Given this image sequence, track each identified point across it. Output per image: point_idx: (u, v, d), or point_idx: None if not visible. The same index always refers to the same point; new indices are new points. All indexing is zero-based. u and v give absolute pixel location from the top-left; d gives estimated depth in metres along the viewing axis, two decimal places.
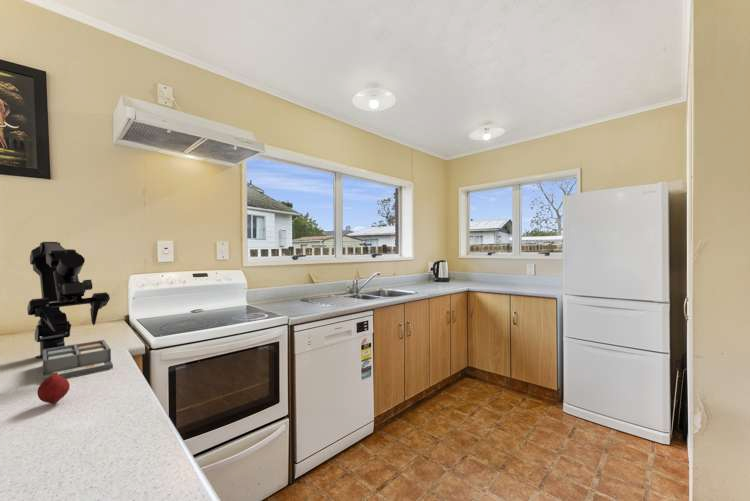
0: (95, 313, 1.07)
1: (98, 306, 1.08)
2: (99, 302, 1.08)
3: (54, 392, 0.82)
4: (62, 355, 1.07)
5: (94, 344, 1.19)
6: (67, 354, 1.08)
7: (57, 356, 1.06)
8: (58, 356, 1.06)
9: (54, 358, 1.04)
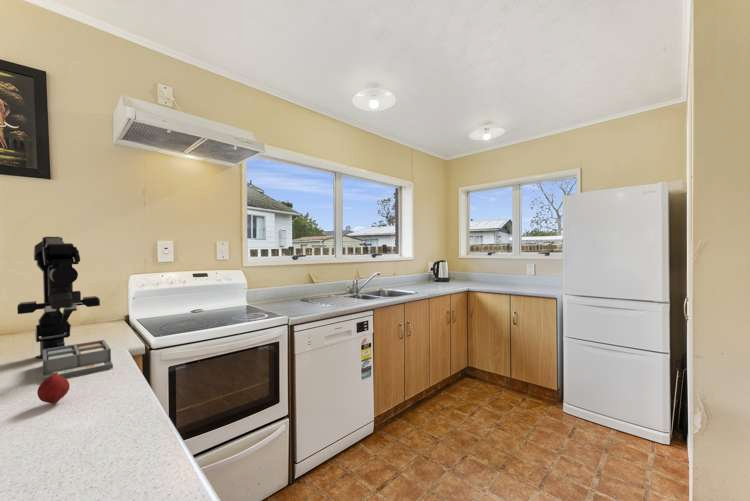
0: (65, 320, 1.05)
1: (69, 314, 1.05)
2: (70, 311, 1.05)
3: (54, 392, 0.82)
4: (62, 355, 1.07)
5: (94, 344, 1.19)
6: (67, 354, 1.08)
7: (57, 356, 1.06)
8: (58, 356, 1.06)
9: (54, 358, 1.04)
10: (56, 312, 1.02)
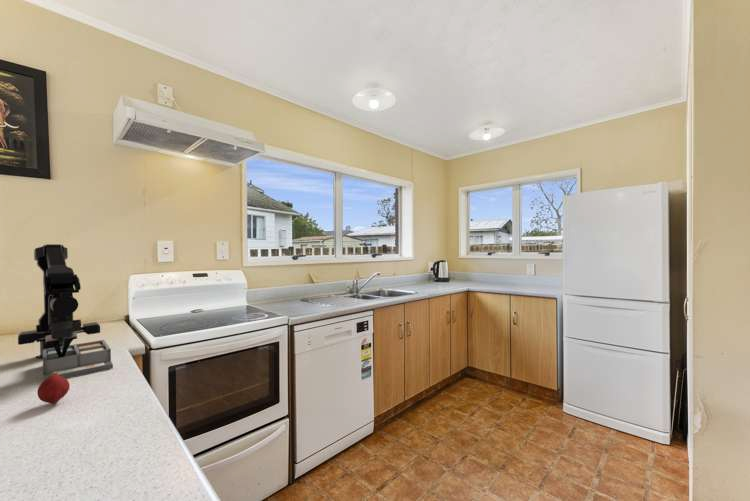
0: (65, 348, 1.05)
1: (69, 342, 1.06)
2: (70, 339, 1.05)
3: (54, 392, 0.82)
4: None
5: (94, 344, 1.19)
6: None
7: None
8: None
9: None
10: (56, 341, 1.03)
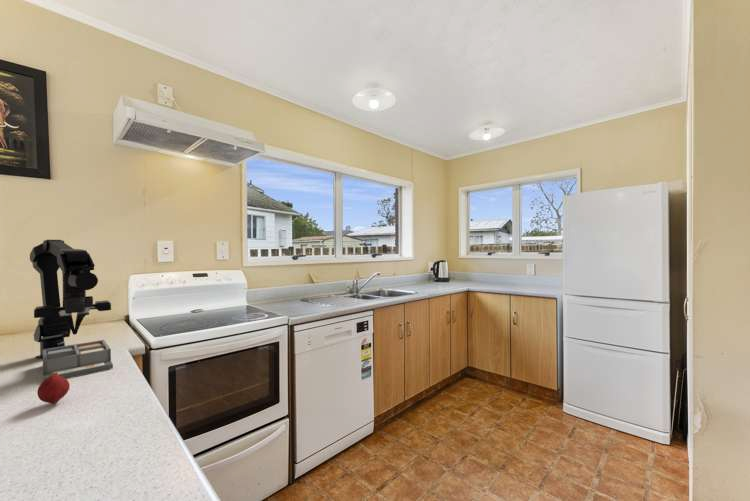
0: (78, 324, 1.10)
1: (82, 318, 1.10)
2: (83, 315, 1.10)
3: (54, 392, 0.82)
4: None
5: (94, 344, 1.19)
6: None
7: None
8: None
9: None
10: (70, 316, 1.07)
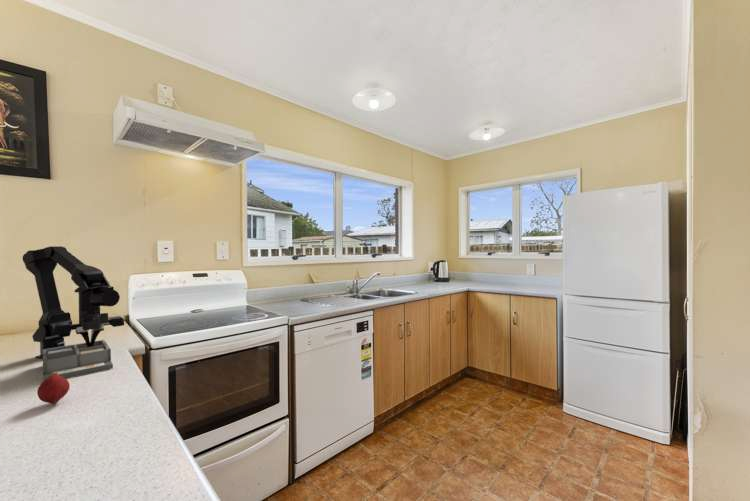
0: (93, 339, 1.16)
1: (97, 333, 1.16)
2: (98, 331, 1.16)
3: (54, 392, 0.82)
4: None
5: None
6: None
7: None
8: None
9: None
10: (86, 332, 1.13)
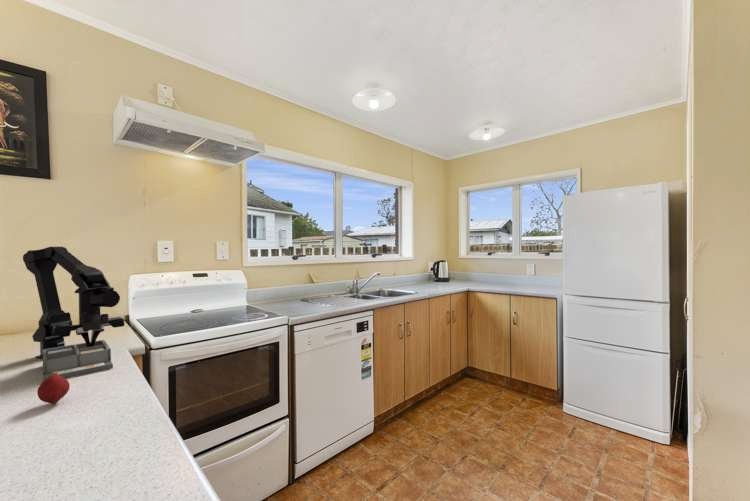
0: (93, 340, 1.16)
1: (97, 334, 1.16)
2: (98, 332, 1.16)
3: (54, 392, 0.82)
4: None
5: None
6: None
7: None
8: None
9: None
10: (86, 333, 1.13)
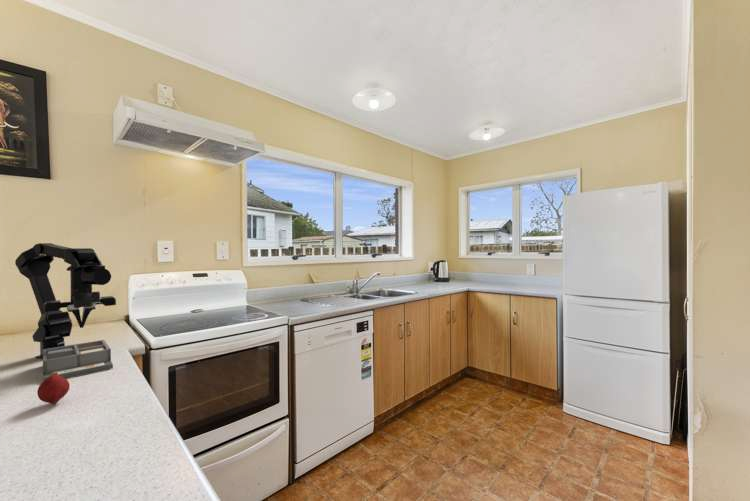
0: (85, 318, 1.17)
1: (88, 312, 1.17)
2: (89, 310, 1.16)
3: (54, 392, 0.82)
4: None
5: None
6: None
7: None
8: None
9: None
10: (77, 310, 1.14)
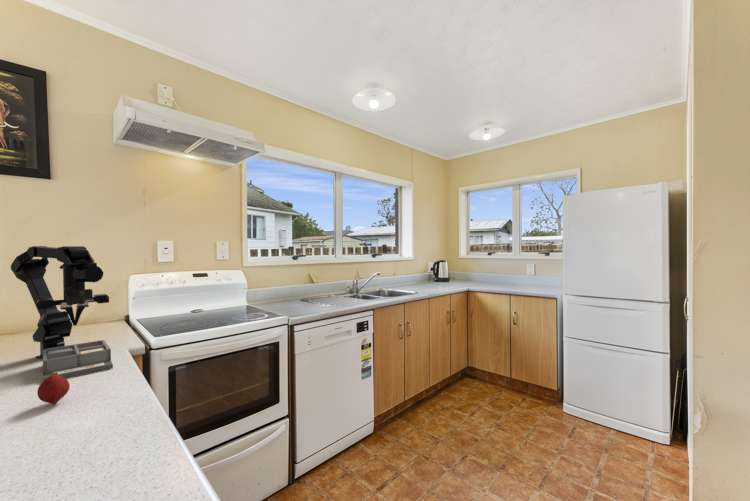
0: (78, 315, 1.17)
1: (81, 310, 1.17)
2: (82, 307, 1.17)
3: (54, 392, 0.82)
4: None
5: None
6: None
7: None
8: None
9: None
10: (70, 308, 1.15)
